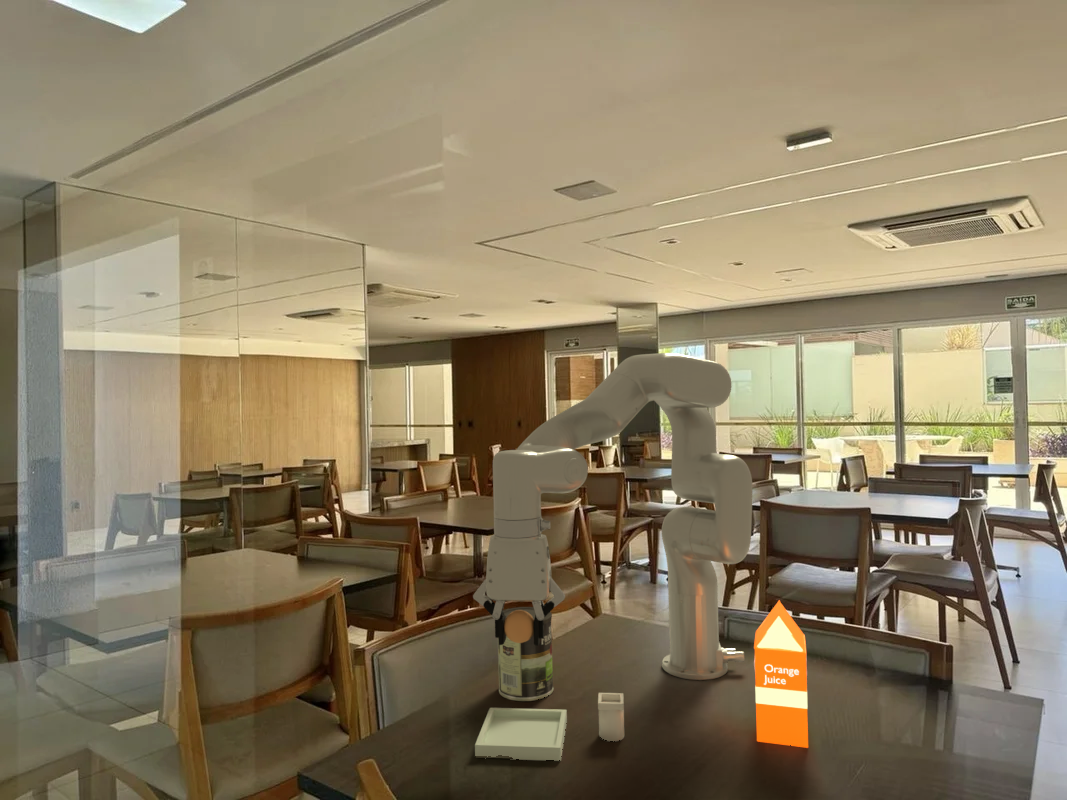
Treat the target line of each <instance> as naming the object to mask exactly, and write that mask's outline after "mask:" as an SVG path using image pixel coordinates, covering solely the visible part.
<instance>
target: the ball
mask: <svg viewBox="0 0 1067 800" xmlns="http://www.w3.org/2000/svg"><path fill="white" fill-rule="evenodd" d="M504 631H505V634H506V636H507V637H508V638H509V639H510V640H511V641H513V642H516V643H523V642H526V641H528V640H529V639H530V638H531V637H532V636H533V634H534V619H533V617H532V616H531V615H530V614H529V613H528V612H526V611H524V610H516V611H513V612H511V613H510V614H509V615H508V616H507V617H506V619H505V622H504Z"/></svg>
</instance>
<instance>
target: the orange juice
mask: <svg viewBox="0 0 1067 800" xmlns="http://www.w3.org/2000/svg"><path fill="white" fill-rule="evenodd" d="M754 634H755V635H754V642H753V643H754V644H753V649H754V658H753V659H754V661H753V666H754V674H755V679H754V680H755V685H754V686H755V687H754V689H755V690H754V691H755V713H756V714H755V715H756V717H755V718H756V721H755V722H756V723H755V724H756V742H758V743H759V742H760V743H765V744H766V743H767V744H775V745H783V746H789V747H790V745H791V746H792V747H798V748H799V747H800V748H804V749H805V748H806V749H808V748H809V731H808V730H809V727H808V726H809V724H808V720H809V719H808V684H807V683H808V680H807V678H808V677H807V676H808V672H807V644H806V643H807V642H806V636H805V634H804V633H803V631H802V630H801V629H800V627H799V626H798V624H797V623H796V622H795V621H794V619H793V617H792V616H791V615H790V614H789V612H788V611H787V609H786V608H785V607H784V605H783V604H782V603H781V600H780V599H779V600H778V601H777V603H776V604H775V605H774V607H772V609H771V611H770V612H769V613H768V614H767V616H766V617H765V618H764V620H763V621H762V623H761V624H760V625H759V626H758V628H757V629H756V630H755V633H754Z"/></svg>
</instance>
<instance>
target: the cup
mask: <svg viewBox="0 0 1067 800" xmlns="http://www.w3.org/2000/svg"><path fill="white" fill-rule="evenodd" d="M624 700H625V698H624V693H623V692H620V693H619V692H598V697H597V710H598V736H599V738H600V737H601V738H602V739H601V738H600V739H601V740H603V739H604V740H603V741H605V740H607V741H606V742H610V741H613V742H614V741H615V742H619V740H620V741H622V740H624V738H625V705H624V704H625V703H624ZM613 742H612V743H613Z"/></svg>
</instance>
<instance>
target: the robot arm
mask: <svg viewBox="0 0 1067 800" xmlns="http://www.w3.org/2000/svg"><path fill="white" fill-rule="evenodd" d="M731 391H732V378H731V376H730V373H729V372H728V370H727V369H726V368H725V366H723V365H722V364H721V363H719V362H717V361H714V360H708V359H704V358H699V357H696V356H689V355H687V354H686V355H685V354H682V353H674V352H660V353H659V352H658V353H645V354H644V353H643V354H635V355H631V356H629V357H627V358H625V359H624V360H622V362H620V363H619V364H618V365H617V366H616V367H615V369H614V370H613V371H612V372H610V373H609V375H608V376H607V377H606V378H604V380H602V382H601V383H600V384H598V385H597V386H596V388H595V389H594V390H593V391H591V393H590V394H589V395H588V396H587V397H586V398H584V399H583V400H582V401H580V402H577V403H575V404H574V405H572V406H569V407H568V408H566V409H565V410H563V411H562V412H560V413H558V414H557V415H554V416H553V417H550V418H549V419H548V420H546V421H545V422H544V423H543V422H542V424H541V425H539V426H538V427H536V428H535V430H533V431H532V432H531V433H530V434H529V435H528V436H527V437H526V438H525V439H524V440H523V441H522V443H520V445H519V446H518V447H517V448H516V449H509V450H507V449H506V450H501V451H498V452H496V453H495V454H494V455H493V458H492V459H493V460H492V485H493V487H492V491H493V535H492V534H491V535H490V538H489V543H488V548H487V559H486V575H485V579H484V580H483V581H482V583H481V584H480V586H479V587H478V588H477V589H476V591H475V592H474V594H473V595H472V598H473V600H475V601H476V602H477V603H479V604H480V605H481V606H483V608H484V609H485V610H486V611H487V612H488V613H489V614H490V615H491V616H492V619H494V636H495V639H498V638H499V645H503V644H504V642H505V640H506V634H505V631H504V622H505V619H506V616H505V614H504V612H503V610H504V608H505V604H506V602H525V603H526V602H528V603H529V602H531V603H532V607H534V610H535V613H536V615H535V619H534V645H535V646H539V643H540V639H544V617H545V616H546V615H547V614H548V613H549V612H552V610H553V609H554V608H555V607H557V606H558V605H560V604H561V603H562V602H563V601H565V599H566V595H565V593H564V590H562V589H561V588H560V586H559V585H558V584H557V583H556V582H555V580H554V579H553V577H552V567H551V566H552V565H551V556H550V547H549V541H548V538H547V535H546V534H543V533H542V532H544V531H546V530H551V520H546V519H544V518H542V497H541V496H542V494H544V493H547V494H549V493H550V494H567V493H572V492H574V491H576V490H578V489H579V488H581V486H583V484H584V483H585V482H586V480H587V477H588V473H589V468H588V467H589V466H588V462H587V460H586V458H585V457H584V456H583V455H582V454H581V453H580V452H579V451H577V450H576V449H578V448H581V447H585V446H587V445H592V444H595V443H599V442H603V441H605V440H608V439H610V438H613V437H615V436H618V435H619V434H620V433H622V431H624V429H625V428H626V427H627V426H628V425H629V423H630V422H631V421H632V420H633V419H634V418H635V417H636V415H638V413H640V411H642V409H643V408H644V407H645V406H646V405H647V404H648V403H649V402H653V401H654V402H655V403H656V404H657V406H659V407H660V408H661V410H662V411H663V413H664V414H665V416H666V417H667V420H668V421H669V423H670V428H671V471H670V472H671V474H670V475H671V480H670V481H671V489H672V491H673V492H674V494H675V495H676V496H677V497H679V498H680V499H683V500H686V501H687V500H688V501H693V502H698V503H699V502H701V503H709V504H714V510H712V509H707V508H700V507H690V506H684V507H683V506H682V507H677V508H673V509H672V510H670V511H669V512H668V513H667V514H666V515H665V516H664V518H663V520H662V521H663V522H662V525H661V539H662V544H663V549H664V553H665V557H666V565H667V580H668V581H667V582H668V583H667V584H668V585H667V586H668V587H667V589H668V590H667V591H668V624H669V625H668V627H669V630H668V631H669V632H668V635H669V636H668V637H669V653H668V654H667V655H665V656H664V657H663V659H662V661H661V666H662V669H663V671H665V672H666V673H668V674H669V675H672V676H674V677H677V678H681V679H686V680H697V681H702V680H703V681H706V680H707V681H708V680H713V679H717V678H720V677H723V676H725V674H726V673H727V672H728V670H729V668H728V662H735V663H745V652H744V651H736V648H732V647H731V648H724V647H722V646H721V643H720V641H719V640H720V637H719V635H720V633H719V631H720V630H719V592H718V591H719V588H718V587H719V586H718V585H719V584H718V577H717V572H716V570H715V566H714V565H713V563H712V562H715V563H720V564H726V565H735V564H738V563H741V562H742V561H743V560H744V559H745V558H746V556H747V555H748V553H749V550H750V546H751V541H752V521H753V520H752V517H753V514H752V513H753V478H752V473H751V471H750V468H749V466H748V464H747V463H746V462H745V460H744V459H742V458H741V457H739V456H736V455H733V454H726V453H725V454H723V453H717V439H716V438H717V430H716V423H715V422H714V418H713V417H712V414H711V413H710V411H709V410H708V408H709V409H710V408H712V409H713V408H716V407H717V408H718V407H719V406H721V405H723V404H724V403H725V402H727V400H728V398H729V397H730V395H731ZM550 593H551V594H552V595H553V597H551V598H550V599H549V600H548V598H549V596H550ZM546 600H548V601H546ZM544 601H546V602H545V603H544Z"/></svg>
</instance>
